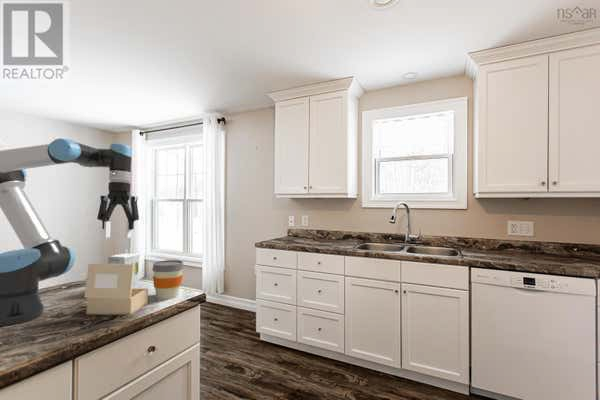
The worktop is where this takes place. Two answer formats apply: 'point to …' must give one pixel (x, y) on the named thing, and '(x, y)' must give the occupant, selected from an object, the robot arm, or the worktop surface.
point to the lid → (109, 281)
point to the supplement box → (128, 260)
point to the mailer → (118, 303)
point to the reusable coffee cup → (167, 278)
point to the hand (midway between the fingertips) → (117, 237)
